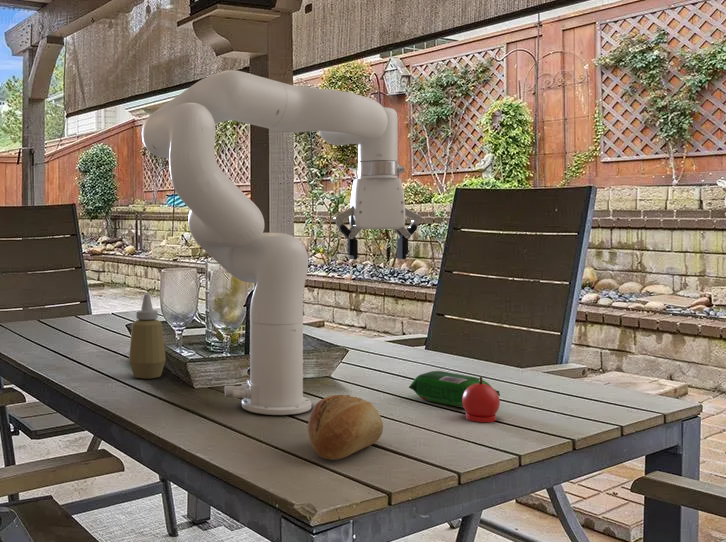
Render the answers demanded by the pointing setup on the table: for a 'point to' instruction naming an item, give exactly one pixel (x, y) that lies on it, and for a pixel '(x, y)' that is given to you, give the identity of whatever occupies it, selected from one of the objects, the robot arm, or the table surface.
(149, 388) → the table surface
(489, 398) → the candle
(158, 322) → the squeeze bottle
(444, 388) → the snack package
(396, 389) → the table surface
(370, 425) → the bread roll
